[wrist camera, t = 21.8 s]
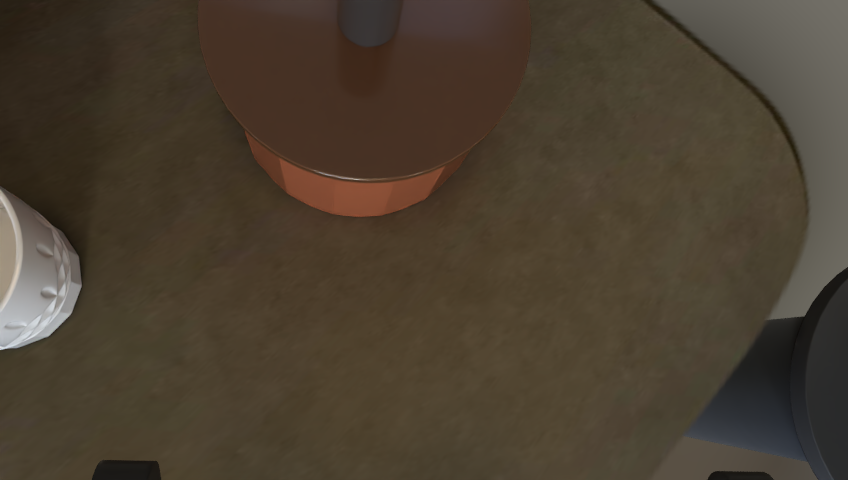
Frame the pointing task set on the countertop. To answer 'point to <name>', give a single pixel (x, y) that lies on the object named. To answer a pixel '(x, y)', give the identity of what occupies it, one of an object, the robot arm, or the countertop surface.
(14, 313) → the white cup
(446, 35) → the lid
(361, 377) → the countertop surface
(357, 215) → the crock
